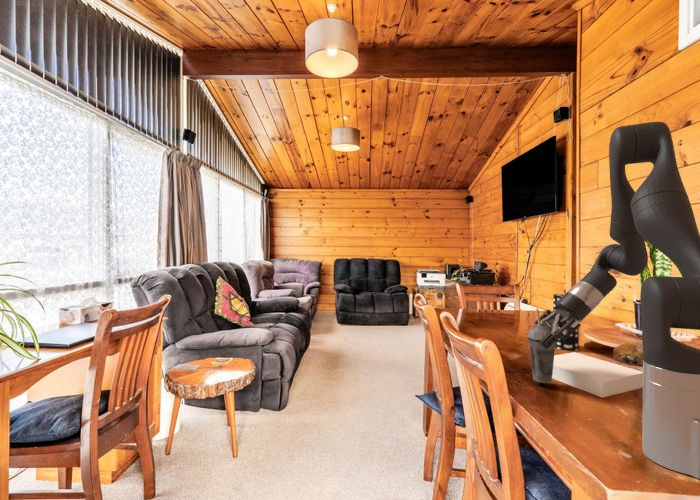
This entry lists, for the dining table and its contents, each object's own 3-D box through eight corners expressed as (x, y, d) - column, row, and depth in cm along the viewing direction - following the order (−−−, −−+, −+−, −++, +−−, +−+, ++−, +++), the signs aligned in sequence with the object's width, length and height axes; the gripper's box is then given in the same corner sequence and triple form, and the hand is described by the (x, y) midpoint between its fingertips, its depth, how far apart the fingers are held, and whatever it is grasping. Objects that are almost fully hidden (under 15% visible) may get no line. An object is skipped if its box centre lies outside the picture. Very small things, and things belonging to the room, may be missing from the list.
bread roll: (654, 375, 114) (660, 352, 115) (636, 366, 110) (643, 342, 111) (620, 366, 123) (627, 344, 124) (603, 356, 119) (610, 335, 121)
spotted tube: (548, 346, 135) (548, 294, 134) (562, 343, 138) (562, 293, 138) (569, 352, 127) (569, 297, 127) (583, 349, 131) (583, 296, 130)
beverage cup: (561, 385, 93) (561, 311, 93) (532, 383, 94) (531, 310, 94) (551, 376, 100) (551, 306, 100) (524, 374, 101) (524, 306, 101)
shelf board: (645, 386, 96) (645, 372, 95) (602, 397, 89) (602, 382, 89) (574, 364, 114) (574, 352, 114) (534, 371, 107) (534, 358, 107)
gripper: (555, 288, 104) (515, 327, 104) (585, 294, 89) (539, 339, 90) (574, 306, 104) (534, 344, 104) (606, 315, 89) (560, 360, 90)
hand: (536, 342), depth 97 cm, fingers closed on beverage cup, 7 cm apart
